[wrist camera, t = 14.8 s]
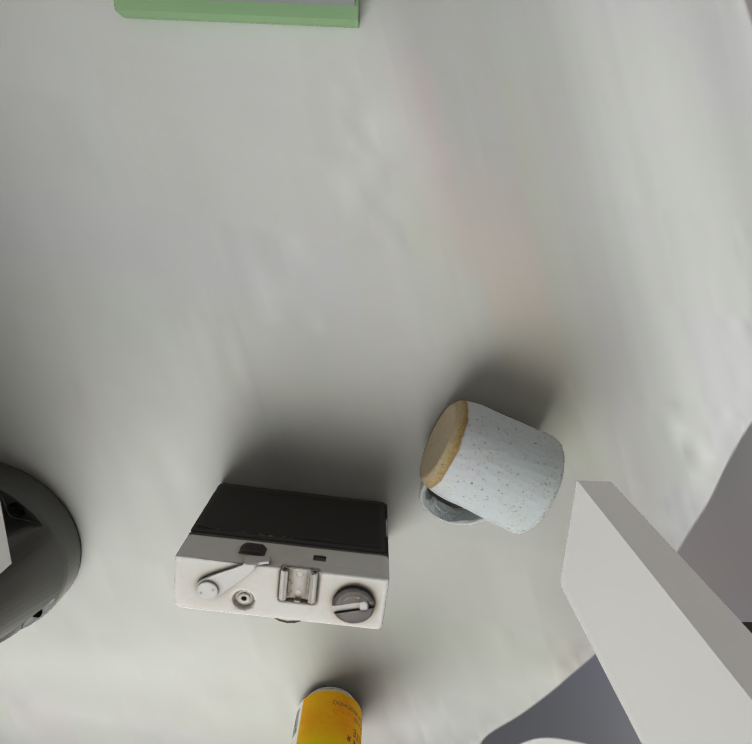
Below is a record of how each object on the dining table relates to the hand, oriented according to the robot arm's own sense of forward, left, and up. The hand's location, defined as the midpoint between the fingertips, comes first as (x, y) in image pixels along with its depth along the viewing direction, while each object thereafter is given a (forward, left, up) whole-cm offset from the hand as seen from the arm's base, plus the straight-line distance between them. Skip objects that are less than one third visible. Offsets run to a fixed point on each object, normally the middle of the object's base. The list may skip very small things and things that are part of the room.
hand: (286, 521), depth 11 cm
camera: (-4, -18, -27) cm, 33 cm away
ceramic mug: (+10, -11, -27) cm, 31 cm away
